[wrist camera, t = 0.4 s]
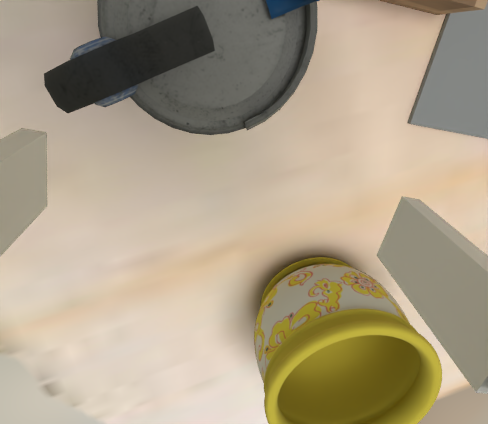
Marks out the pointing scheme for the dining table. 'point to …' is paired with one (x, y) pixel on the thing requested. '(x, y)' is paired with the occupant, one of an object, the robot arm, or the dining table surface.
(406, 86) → the dining table surface
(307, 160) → the dining table surface
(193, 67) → the beverage bottle
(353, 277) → the flowerpot
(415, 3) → the walnut crate
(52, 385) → the dining table surface
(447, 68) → the grey mat
